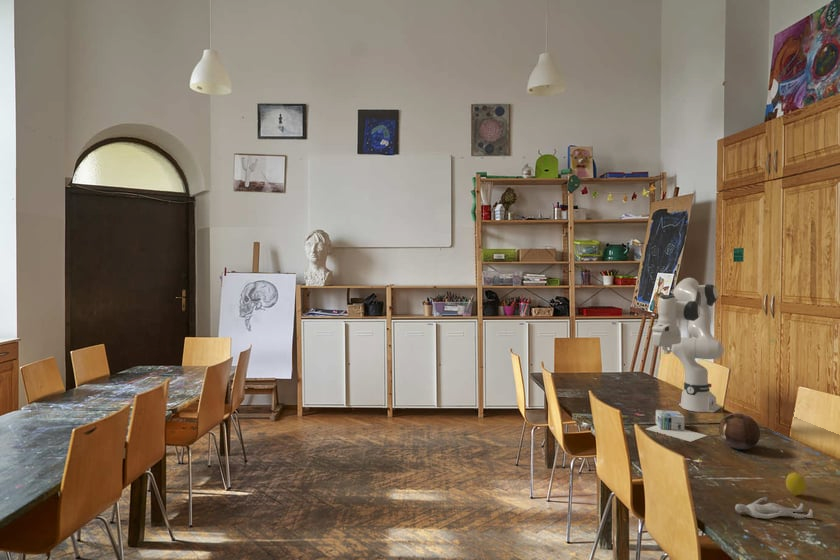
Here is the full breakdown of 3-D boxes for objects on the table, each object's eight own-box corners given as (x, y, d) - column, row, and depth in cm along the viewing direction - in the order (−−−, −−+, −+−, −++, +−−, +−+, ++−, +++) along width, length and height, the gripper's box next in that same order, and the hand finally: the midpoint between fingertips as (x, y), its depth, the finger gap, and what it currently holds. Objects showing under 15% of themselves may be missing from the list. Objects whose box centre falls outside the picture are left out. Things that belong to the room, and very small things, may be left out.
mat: (662, 424, 255) (662, 423, 255) (707, 436, 236) (707, 435, 236) (645, 429, 247) (645, 428, 247) (691, 441, 229) (690, 441, 229)
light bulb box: (685, 417, 243) (660, 415, 245) (684, 431, 243) (660, 429, 245) (678, 410, 253) (655, 409, 256) (678, 424, 254) (655, 422, 256)
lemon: (781, 492, 177) (781, 469, 177) (796, 491, 178) (796, 469, 177) (794, 499, 172) (794, 476, 171) (809, 499, 172) (810, 475, 172)
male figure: (818, 511, 156) (745, 510, 157) (818, 524, 156) (744, 523, 157) (795, 496, 166) (726, 496, 167) (795, 508, 166) (726, 507, 167)
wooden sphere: (754, 444, 225) (754, 410, 225) (764, 456, 211) (765, 420, 210) (715, 440, 230) (715, 407, 229) (723, 452, 216) (723, 417, 215)
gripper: (672, 324, 269) (672, 350, 270) (650, 327, 258) (650, 354, 258) (684, 325, 264) (684, 352, 264) (661, 328, 253) (661, 356, 253)
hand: (667, 353), depth 261 cm, fingers closed
